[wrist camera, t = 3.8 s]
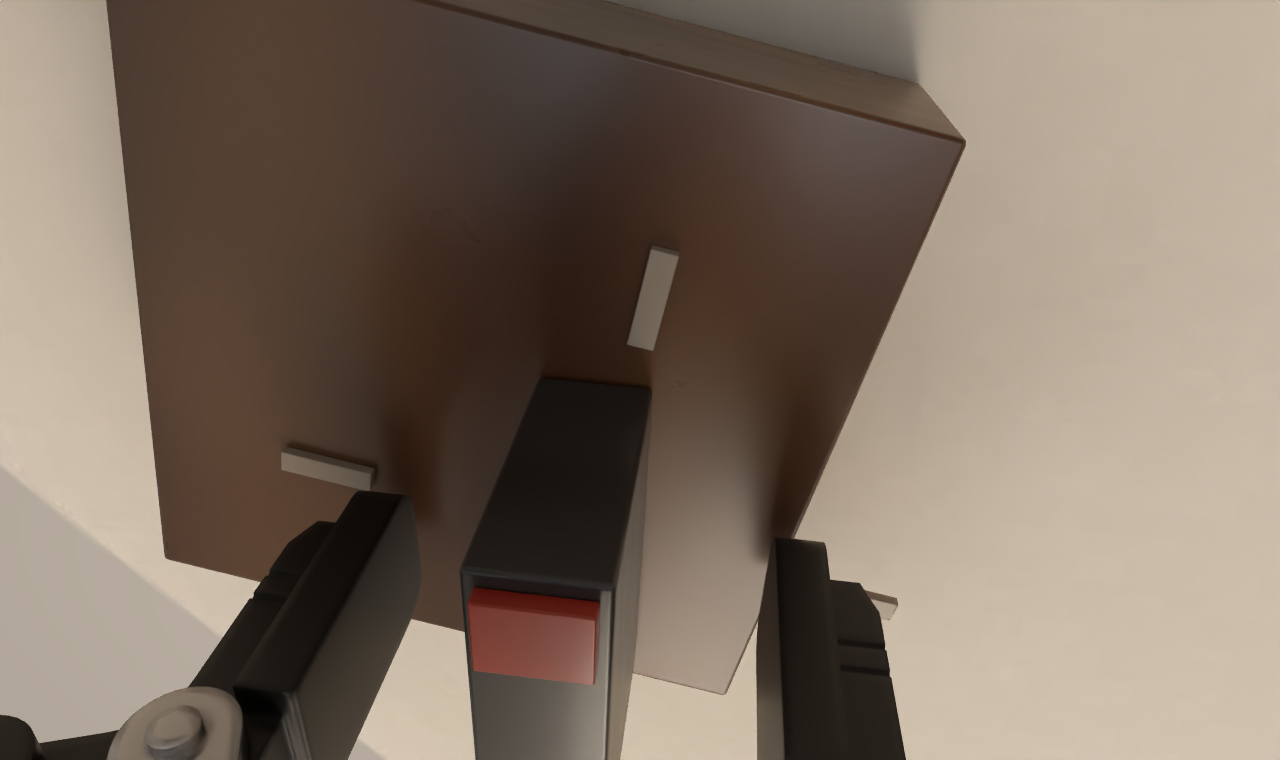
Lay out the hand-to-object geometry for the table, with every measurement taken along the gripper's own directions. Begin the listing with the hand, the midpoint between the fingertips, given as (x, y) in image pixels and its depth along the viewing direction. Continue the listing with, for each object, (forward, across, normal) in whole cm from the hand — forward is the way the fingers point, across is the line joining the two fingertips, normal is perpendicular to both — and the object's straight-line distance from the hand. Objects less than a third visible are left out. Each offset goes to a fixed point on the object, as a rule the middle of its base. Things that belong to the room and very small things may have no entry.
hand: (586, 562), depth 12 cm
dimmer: (+4, +1, -1) cm, 4 cm away
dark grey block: (+1, 0, 0) cm, 1 cm away
